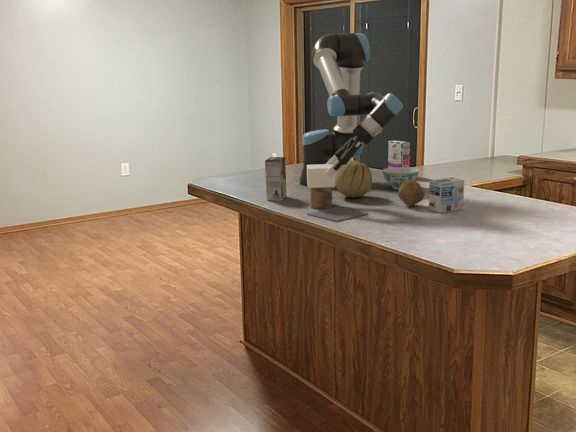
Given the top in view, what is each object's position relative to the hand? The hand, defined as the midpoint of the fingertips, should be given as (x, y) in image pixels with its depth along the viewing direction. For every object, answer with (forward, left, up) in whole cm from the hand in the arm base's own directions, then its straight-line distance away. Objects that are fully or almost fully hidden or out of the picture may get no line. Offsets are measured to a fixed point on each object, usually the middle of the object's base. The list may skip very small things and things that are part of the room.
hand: (326, 173), depth 225 cm
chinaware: (-45, -3, -13) cm, 47 cm away
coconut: (-21, +22, -13) cm, 33 cm away
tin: (+1, -2, -12) cm, 13 cm away
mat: (+7, +13, -12) cm, 19 cm away
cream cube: (+1, -2, -5) cm, 5 cm away
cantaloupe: (-18, -4, -13) cm, 22 cm away
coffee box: (+4, -25, -13) cm, 28 cm away
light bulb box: (-25, +35, -13) cm, 45 cm away
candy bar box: (-66, -22, -13) cm, 71 cm away
